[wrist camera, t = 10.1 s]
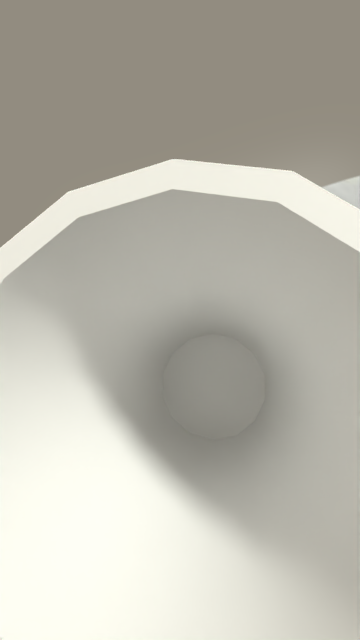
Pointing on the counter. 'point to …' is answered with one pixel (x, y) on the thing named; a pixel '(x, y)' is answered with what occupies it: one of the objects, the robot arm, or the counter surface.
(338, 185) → the counter surface
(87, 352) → the foam cup
